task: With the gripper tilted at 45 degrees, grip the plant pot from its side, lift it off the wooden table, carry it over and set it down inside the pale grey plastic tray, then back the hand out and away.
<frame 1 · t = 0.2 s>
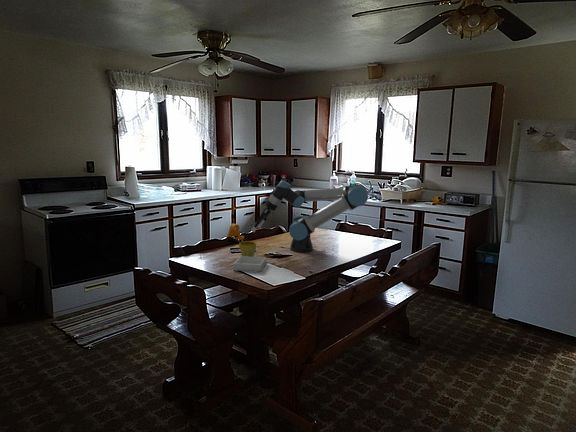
hand: (255, 229, 259), 15 cm above the table, tool tilted 35°, fingers open, 13 cm apart
orange irregular lump: (235, 240, 293), on the table
plant pot: (247, 258, 248), on the table
tray: (250, 267, 231), on the table
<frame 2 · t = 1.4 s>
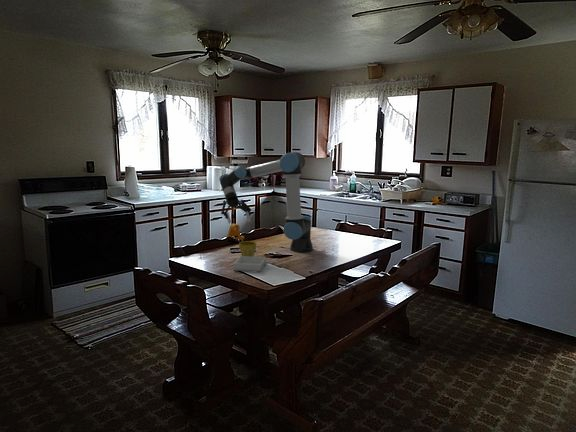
hand: (240, 221, 253), 21 cm above the table, tool tilted 45°, fingers open, 13 cm apart
nothing on the table moved.
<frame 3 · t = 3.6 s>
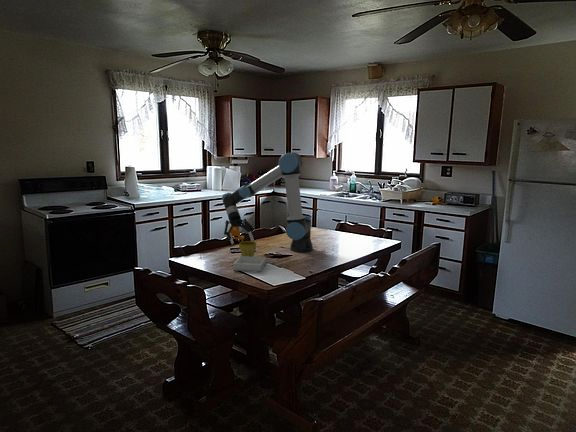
hand: (243, 242, 250), 9 cm above the table, tool tilted 45°, fingers open, 13 cm apart
nothing on the table moved.
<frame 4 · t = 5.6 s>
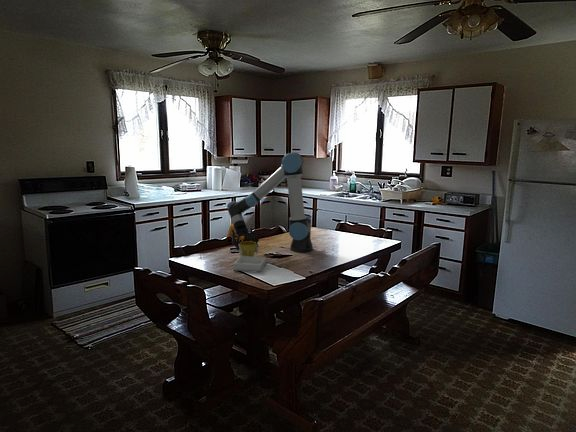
hand: (249, 253, 245), 4 cm above the table, tool tilted 45°, fingers closed on plant pot, 10 cm apart
plant pot: (247, 258, 248), on the table, touching gripper
everything else where it was.
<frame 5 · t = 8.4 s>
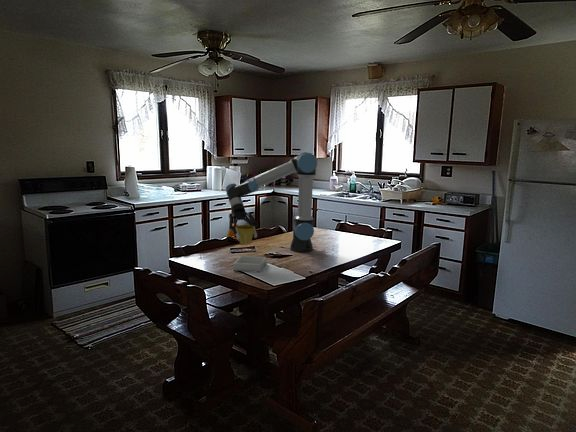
hand: (247, 237, 233), 16 cm above the table, tool tilted 45°, fingers closed on plant pot, 10 cm apart
plant pot: (245, 243, 237), point 12 cm above the table, touching gripper
everything else where it was.
when the fingers open (7 cm above the table, at t = 11.3 s): plant pot drops 2 cm, resting on tray.
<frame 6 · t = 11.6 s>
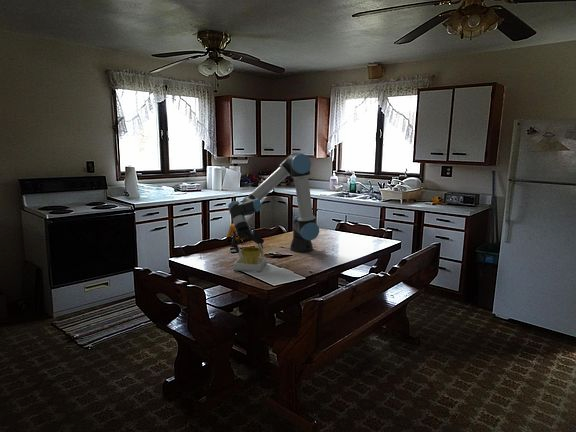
hand: (252, 255, 227), 7 cm above the table, tool tilted 45°, fingers open, 13 cm apart
plant pot: (250, 265, 231), point 1 cm above the table, touching tray
everything else where it was.
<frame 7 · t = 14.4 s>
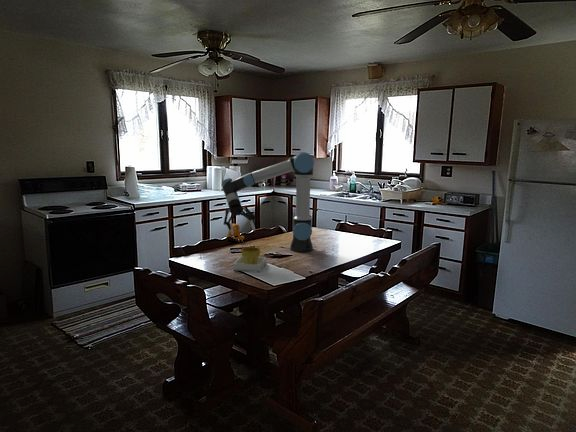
hand: (243, 232, 239), 18 cm above the table, tool tilted 40°, fingers open, 13 cm apart
nothing on the table moved.
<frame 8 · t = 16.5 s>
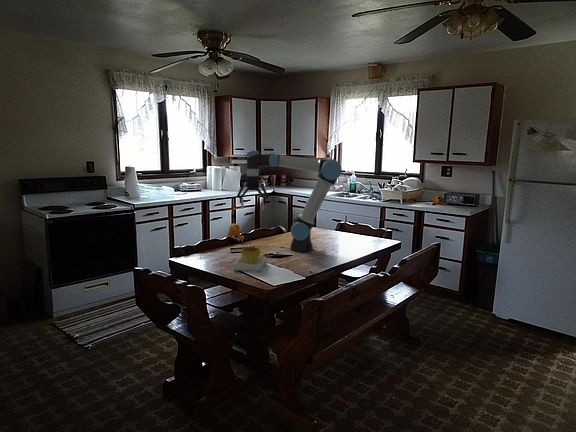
hand: (252, 209, 255), 29 cm above the table, tool pointing down, fingers open, 13 cm apart
nothing on the table moved.
at the end: plant pot inside the target area on the tray (0.4 cm from its centre), point 0.6 cm above the tray's base; plant pot tilted 0°; the gripper is holding nothing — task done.
